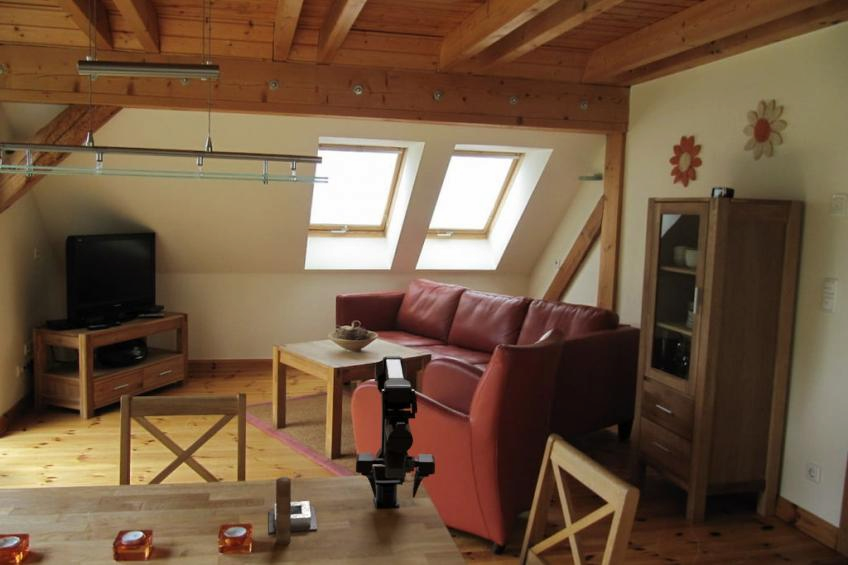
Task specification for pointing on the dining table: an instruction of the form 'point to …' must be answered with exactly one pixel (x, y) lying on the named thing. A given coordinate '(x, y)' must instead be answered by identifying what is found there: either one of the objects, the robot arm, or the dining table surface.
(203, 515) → the dining table surface
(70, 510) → the dining table surface
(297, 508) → the steel socket
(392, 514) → the dining table surface
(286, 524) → the walnut peg
